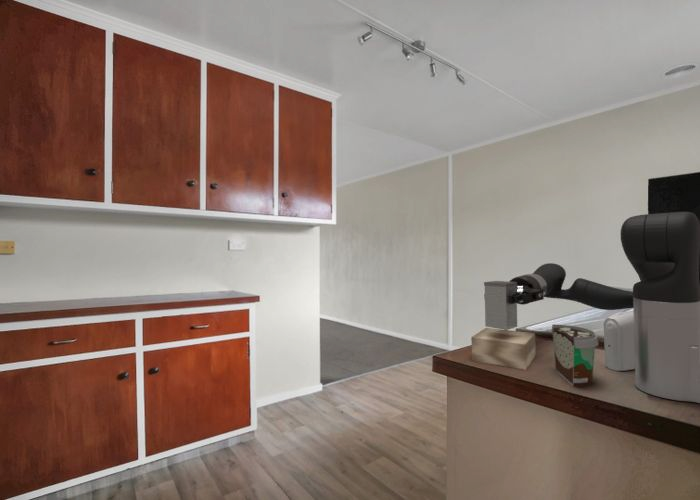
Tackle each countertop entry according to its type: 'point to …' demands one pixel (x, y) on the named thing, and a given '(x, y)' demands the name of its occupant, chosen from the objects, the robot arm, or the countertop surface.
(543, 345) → the countertop surface
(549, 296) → the robot arm
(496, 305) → the tin canister
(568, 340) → the food container
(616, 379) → the countertop surface
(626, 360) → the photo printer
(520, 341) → the beech block
